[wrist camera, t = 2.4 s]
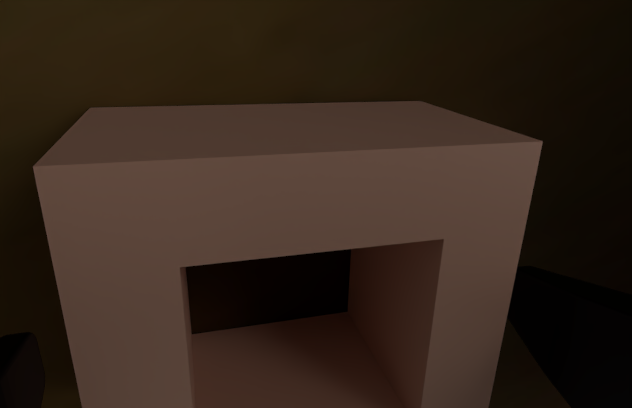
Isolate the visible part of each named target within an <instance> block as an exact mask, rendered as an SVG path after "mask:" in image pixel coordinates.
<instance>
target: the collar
mask: <svg viewBox="0 0 632 408" xmlns="http://www.w3.org/2000/svg"><path fill="white" fill-rule="evenodd" d="M542 144H543V141H540V140H537V139H534V138H531V137H528V136H525V135H522V134H519V133H516V132H513V131H510V130H507V129H504V128H501V127H498V126H495V125H492V124H489V123H486V122H483V121H480V120H477V119H474V118H471V117H468V116H465V115H462V114H459V113H456V112H453V111H450V110H447V109H444V108H441V107H437V106H434V105H431V104H428V103H425V102H422V101H388V102H340V103H291V104H243V105H194V106H146V107H97V108H89V109H88V110H87V111H86V112H85V113H84V114H83V116H82V117H81V118H80V119H79V120H78V121H77V122H76V123H75V124H74V125H73V126H72V127H71V128H70V129H69V130H68V131H67V132H66V133H65V134H64V135H63V136H62V137H61V138H60V139H59V140H58V141H57V142H56V143H55V144H54V145H53V146H52V147H51V148H50V149H49V150H48V151H47V153H46V154H45V155H44V156H43V157H42V158H41V159H40V160H39V161H38V162H37V163H36V164H35V165H34V166H33V170H34V175H35V180H36V185H37V190H38V194H39V199H40V204H41V209H42V214H43V219H44V224H45V229H46V234H47V238H48V243H49V248H50V253H51V258H52V263H53V268H54V273H55V278H56V283H57V287H58V292H59V297H60V302H61V307H62V312H63V317H64V322H65V327H66V331H67V336H68V341H69V346H70V351H71V356H72V361H73V366H74V371H75V375H76V380H77V385H78V390H79V395H80V400H81V405H82V408H489V403H490V398H491V393H492V388H493V383H494V378H495V373H496V368H497V364H498V359H499V354H500V349H501V344H502V339H503V334H504V329H505V324H506V320H507V315H508V310H509V305H510V300H511V295H512V290H513V285H514V280H515V276H516V271H517V266H518V261H519V256H520V251H521V246H522V241H523V236H524V232H525V227H526V222H527V217H528V212H529V207H530V202H531V197H532V192H533V188H534V183H535V178H536V173H537V168H538V163H539V158H540V153H541V148H542ZM346 249H351V258H350V276H349V293H348V311H347V312H342V313H336V314H329V315H322V316H315V317H308V318H301V319H294V320H287V321H280V322H273V323H267V324H260V325H253V326H246V327H239V328H232V329H225V330H218V331H211V332H204V333H198V334H192V331H191V319H190V308H189V296H188V285H187V274H186V267H188V266H198V265H207V264H216V263H225V262H235V261H244V260H253V259H263V258H272V257H281V256H290V255H300V254H309V253H318V252H328V251H337V250H346Z"/></svg>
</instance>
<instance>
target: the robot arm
mask: <svg viewBox="0 0 632 408" xmlns="http://www.w3.org/2000/svg"><path fill="white" fill-rule="evenodd" d="M507 318H508V319H509V321H510V322H511V324H512V325H513V327H514V328H515V330H516V331H517V333H518V334H519V336H520V337H521V339H522V340H523V342H524V344H525V345H526V347H527V348H528V350H529V351H530V353H531V354H532V356H533V357H534V359H535V360H536V362H537V363H538V365H539V366H540V368H541V369H542V371H543V372H544V373H545V375H546V376H547V377H548V379H549V380H550V381H551V383H552V384H553V385H554V386H555V388H556V389H557V390H558V391H559V393H560V394H561V395H562V396H563V398H564V399H565V400H566V401H567V403H568V404H569V405H570V407H571V408H632V295H630V294H627V293H623V292H620V291H616V290H613V289H609V288H606V287H602V286H599V285H595V284H592V283H588V282H585V281H581V280H578V279H574V278H571V277H567V276H564V275H560V274H557V273H553V272H550V271H546V270H543V269H539V268H536V267H532V266H522V267H517V271H516V276H515V280H514V285H513V290H512V295H511V300H510V305H509V310H508V315H507ZM44 387H45V373H44V369H43V364H42V360H41V356H40V352H39V347H38V343H37V339H36V337H35V335H34V334H33V333H31V332H26V333H18V334H10V335H5V336H3V337H1V338H0V408H41V404H42V398H43V393H44Z"/></svg>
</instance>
